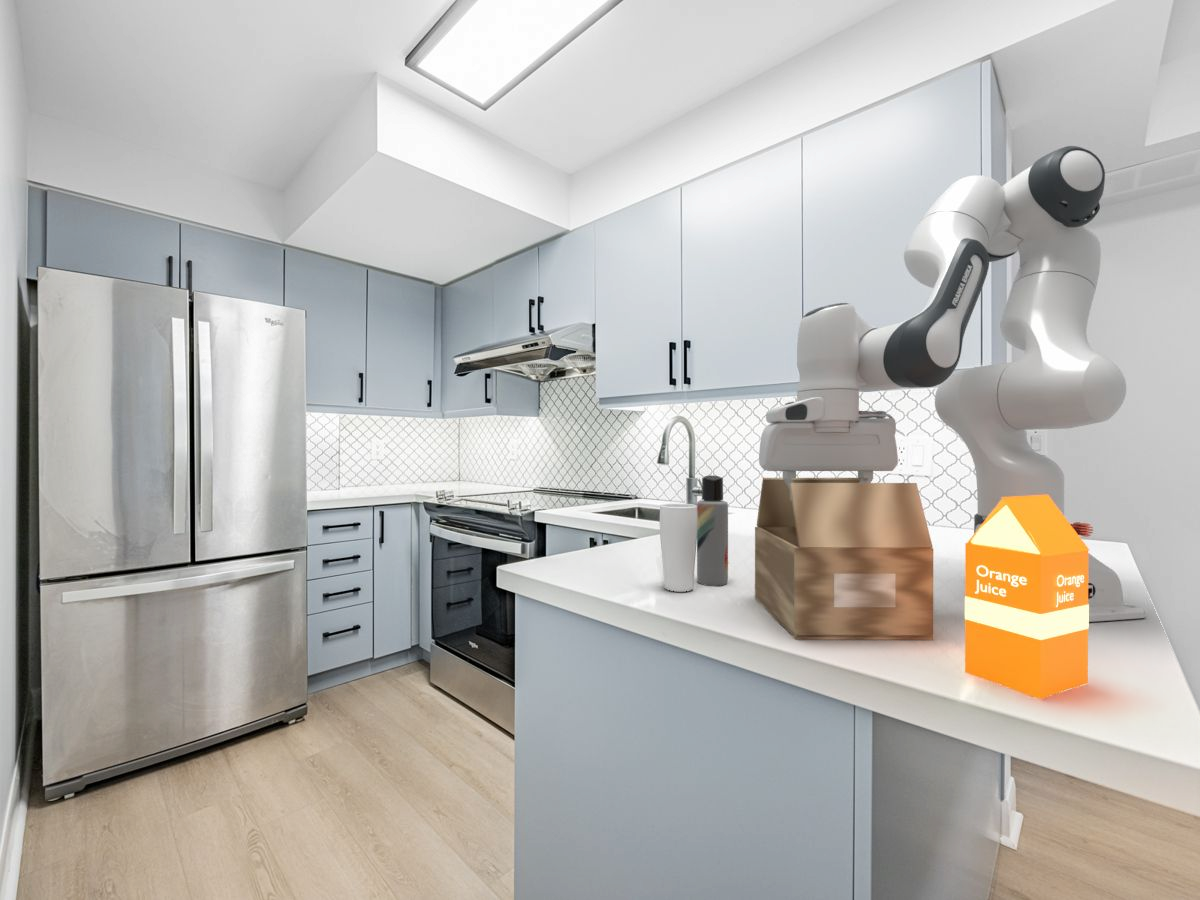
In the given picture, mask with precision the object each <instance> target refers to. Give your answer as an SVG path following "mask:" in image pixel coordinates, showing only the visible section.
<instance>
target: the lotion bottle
mask: <svg viewBox="0 0 1200 900" xmlns="http://www.w3.org/2000/svg"><path fill="white" fill-rule="evenodd" d="M696 505H697V510H698V532H697V544H696V575H697V576H696V578H697V580H696V581H697V583H699V584H701V585H704V584H705V586H711V585H713V587H714V586H716V587H717V586H718V587H719V585H720V586H724V585H727V584H728V582H729V503H728V501H724V477H721V476H719V475H705V476H704V477H701V500H699V501H697V503H696Z"/></svg>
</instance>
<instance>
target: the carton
mask: <svg viewBox="0 0 1200 900" xmlns="http://www.w3.org/2000/svg"><path fill="white" fill-rule="evenodd" d="M754 599H755V600H756V601H757V602H758V603H759V604H760V605H761V606H762V607H763V608H764V609H765V610H766V611H767V612H768V613H769V614H770V615H771V616H772V617H773V618H774V619H775V621H777V622H778V623H779V624H780V625H781V626H782V627H783V628H784V629H785V631H787V632H788V634H790V635H791V636H792V637H793V638H794V639H795V640H829V641H830V640H837V641H838V640H842V641H843V640H845V641H846V640H853V641H855V640H857V641H858V640H859V641H860V640H861V641H862V640H865V641H867V640H869V641H871V640H872V641H873V640H874V641H875V640H876V641H879V640H880V641H881V640H882V641H885V640H889V641H890V640H891V641H895V640H898V641H906V640H907V641H911V640H912V641H933V640H934V548H931V549H880V548H799V546H798V539H797V532H796V527H757V526H755V527H754Z"/></svg>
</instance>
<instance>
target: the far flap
mask: <svg viewBox="0 0 1200 900" xmlns="http://www.w3.org/2000/svg"><path fill="white" fill-rule="evenodd" d="M792 479H793V478H792ZM860 480H861V478H858V477H796V478H795V479H793V481H794V483H859V482H860ZM758 503H759V504H758V512H757V519H756V527H796V526H795V519H794V512H793V505H792V501H791V500H790V489H789V488H788V486H787V485H786V483H785V481H784V480H783V477H762V482H761V490H760V497H759V502H758Z"/></svg>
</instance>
